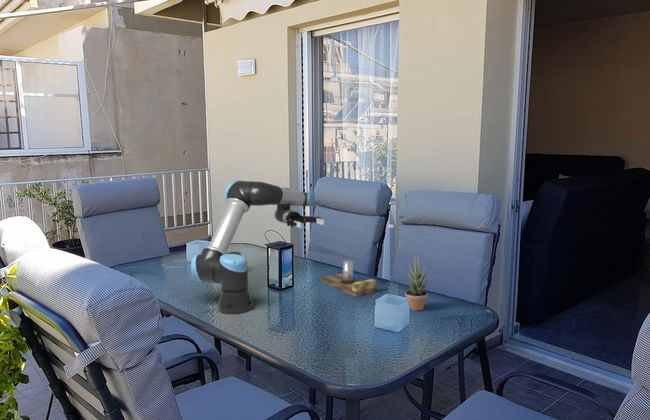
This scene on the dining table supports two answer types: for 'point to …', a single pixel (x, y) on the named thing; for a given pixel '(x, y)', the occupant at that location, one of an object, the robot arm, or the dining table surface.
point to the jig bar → (351, 285)
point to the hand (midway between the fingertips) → (312, 223)
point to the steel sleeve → (347, 271)
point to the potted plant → (417, 288)
